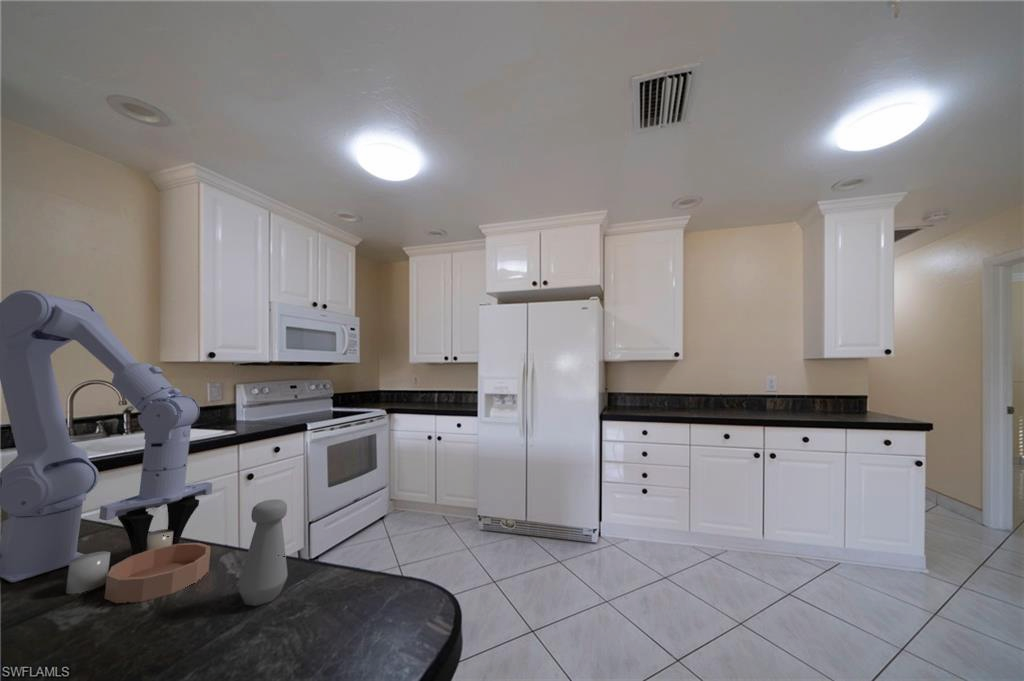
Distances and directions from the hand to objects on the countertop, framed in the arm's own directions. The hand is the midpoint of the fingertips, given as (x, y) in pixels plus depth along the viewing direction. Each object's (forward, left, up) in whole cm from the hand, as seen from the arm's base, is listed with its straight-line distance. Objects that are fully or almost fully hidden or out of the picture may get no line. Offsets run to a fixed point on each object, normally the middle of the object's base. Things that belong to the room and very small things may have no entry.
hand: (155, 549), depth 63 cm
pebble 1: (+1, -8, -2) cm, 9 cm away
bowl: (+9, -4, -1) cm, 10 cm away
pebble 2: (0, 0, -1) cm, 1 cm away
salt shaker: (+27, 0, -2) cm, 27 cm away
